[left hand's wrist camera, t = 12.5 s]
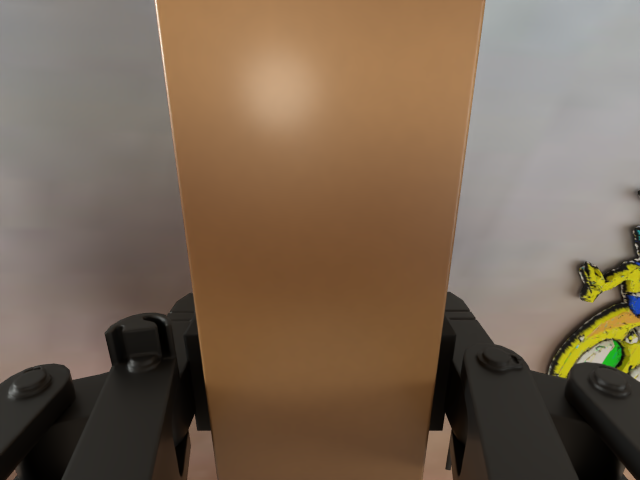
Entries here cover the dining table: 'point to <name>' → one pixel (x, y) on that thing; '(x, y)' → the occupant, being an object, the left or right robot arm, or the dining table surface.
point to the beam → (320, 221)
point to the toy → (607, 322)
